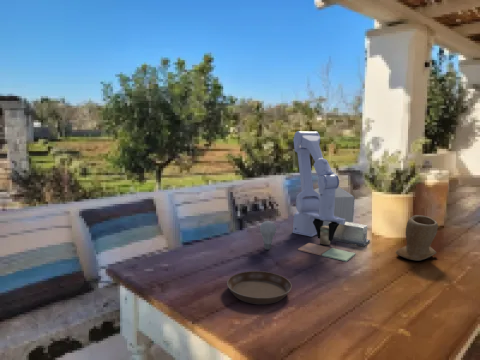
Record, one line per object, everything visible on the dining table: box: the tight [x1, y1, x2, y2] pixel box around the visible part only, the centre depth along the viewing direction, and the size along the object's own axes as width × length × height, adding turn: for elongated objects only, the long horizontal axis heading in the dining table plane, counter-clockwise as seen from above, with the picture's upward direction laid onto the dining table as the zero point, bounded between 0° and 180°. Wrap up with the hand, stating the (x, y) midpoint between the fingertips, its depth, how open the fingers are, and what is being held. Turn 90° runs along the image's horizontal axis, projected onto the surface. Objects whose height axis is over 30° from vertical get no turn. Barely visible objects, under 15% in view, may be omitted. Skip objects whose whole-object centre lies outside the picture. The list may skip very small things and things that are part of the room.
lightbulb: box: [259, 220, 277, 251], centre depth 133 cm, size 6×6×11 cm
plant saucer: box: [226, 270, 293, 305], centre depth 99 cm, size 18×18×3 cm
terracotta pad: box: [297, 242, 332, 256], centre depth 135 cm, size 9×9×1 cm
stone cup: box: [395, 214, 439, 262], centre depth 127 cm, size 15×12×15 cm
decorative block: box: [313, 186, 356, 226], centre depth 170 cm, size 16×16×20 cm
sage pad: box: [321, 247, 356, 262], centre depth 129 cm, size 9×9×1 cm
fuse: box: [319, 226, 331, 246], centre depth 141 cm, size 4×4×6 cm
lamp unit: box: [329, 222, 371, 247], centre depth 146 cm, size 16×7×7 cm, turn 53°
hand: (325, 239), depth 141 cm, fingers closed on fuse, 4 cm apart
